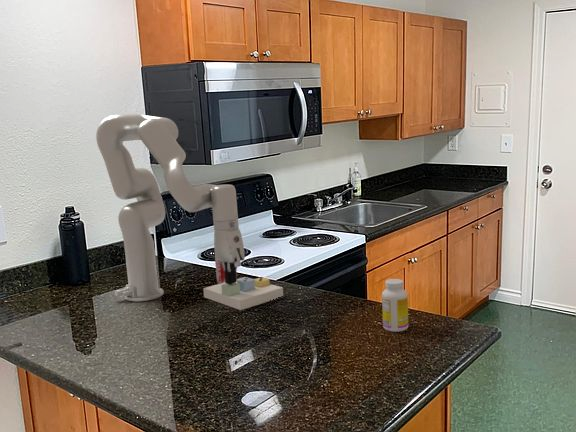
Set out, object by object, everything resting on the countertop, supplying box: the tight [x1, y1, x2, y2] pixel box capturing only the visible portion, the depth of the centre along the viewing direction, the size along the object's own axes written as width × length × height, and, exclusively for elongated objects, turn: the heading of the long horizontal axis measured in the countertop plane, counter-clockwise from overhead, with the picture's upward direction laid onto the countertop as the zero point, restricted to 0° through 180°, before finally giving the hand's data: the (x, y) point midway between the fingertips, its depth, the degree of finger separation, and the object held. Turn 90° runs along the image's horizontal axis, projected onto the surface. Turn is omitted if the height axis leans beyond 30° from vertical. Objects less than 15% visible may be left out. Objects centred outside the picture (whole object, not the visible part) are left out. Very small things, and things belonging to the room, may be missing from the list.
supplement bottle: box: [381, 278, 409, 333], centre depth 154 cm, size 7×7×13 cm
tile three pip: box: [253, 276, 271, 288], centre depth 191 cm, size 4×4×4 cm
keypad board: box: [203, 276, 284, 311], centre depth 189 cm, size 17×20×3 cm
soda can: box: [214, 255, 238, 284], centre depth 204 cm, size 7×7×12 cm
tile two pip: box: [237, 277, 255, 292], centre depth 187 cm, size 4×4×4 cm
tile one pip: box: [221, 283, 240, 297], centre depth 184 cm, size 4×4×4 cm
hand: (231, 282), depth 183 cm, fingers closed
